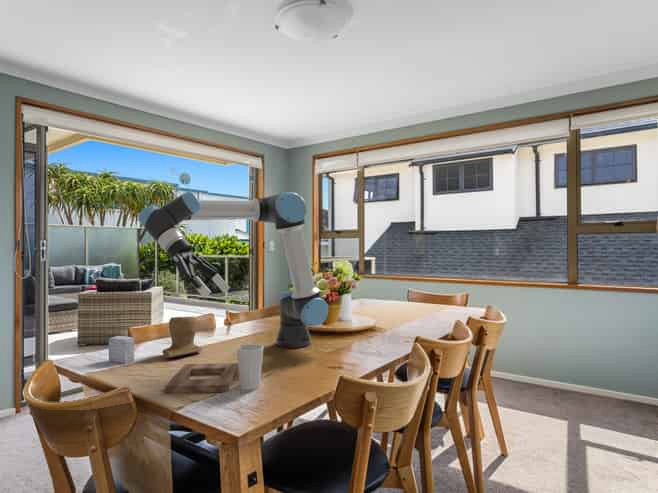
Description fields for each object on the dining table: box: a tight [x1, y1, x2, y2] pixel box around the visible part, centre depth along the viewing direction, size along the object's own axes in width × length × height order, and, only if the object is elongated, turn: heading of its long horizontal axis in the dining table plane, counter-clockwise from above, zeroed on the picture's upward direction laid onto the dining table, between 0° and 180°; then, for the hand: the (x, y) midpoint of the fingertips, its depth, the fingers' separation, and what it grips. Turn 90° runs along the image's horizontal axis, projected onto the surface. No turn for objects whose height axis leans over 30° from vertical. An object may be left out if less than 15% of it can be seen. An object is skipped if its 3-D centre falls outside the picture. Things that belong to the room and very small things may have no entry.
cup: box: [236, 343, 264, 391], centre depth 125 cm, size 8×8×12 cm
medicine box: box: [108, 335, 135, 364], centre depth 150 cm, size 8×4×9 cm, turn 71°
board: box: [164, 362, 239, 394], centre depth 130 cm, size 18×22×2 cm
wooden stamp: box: [161, 316, 203, 359], centre depth 160 cm, size 15×12×15 cm
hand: (218, 292), depth 131 cm, fingers open, 13 cm apart
